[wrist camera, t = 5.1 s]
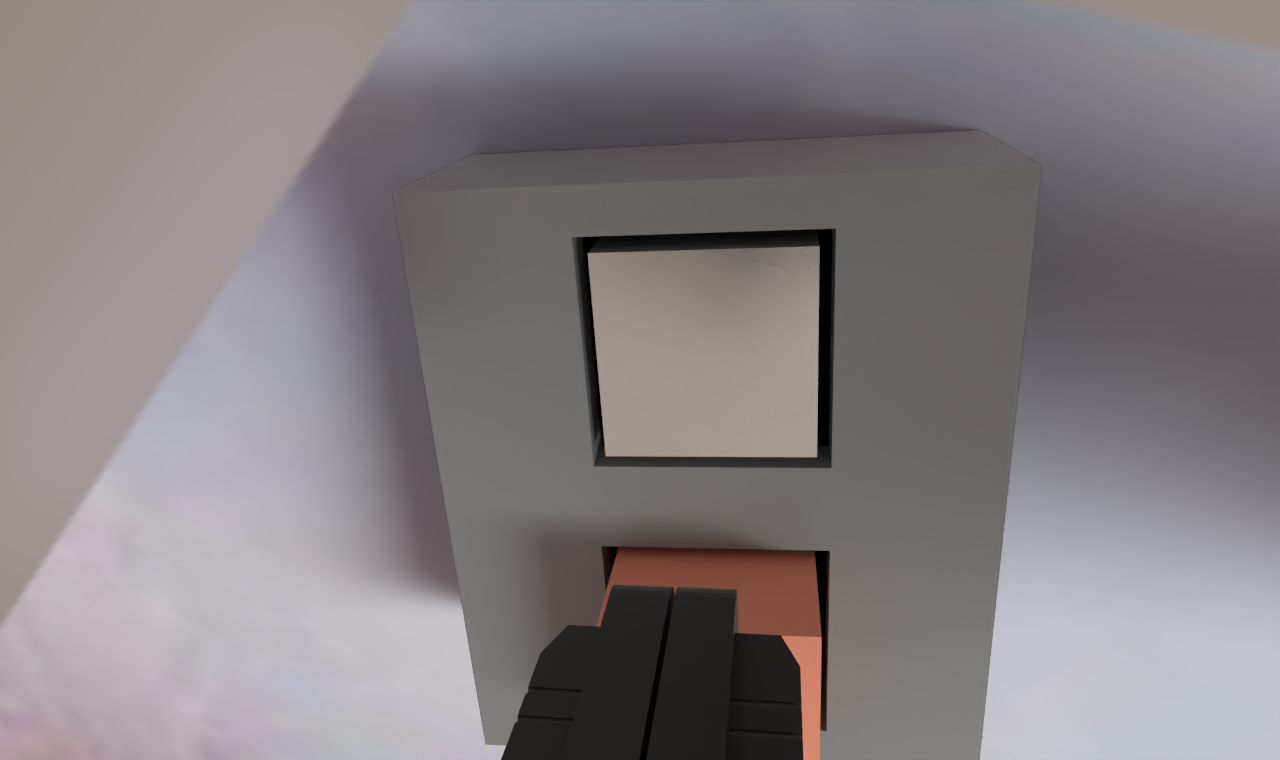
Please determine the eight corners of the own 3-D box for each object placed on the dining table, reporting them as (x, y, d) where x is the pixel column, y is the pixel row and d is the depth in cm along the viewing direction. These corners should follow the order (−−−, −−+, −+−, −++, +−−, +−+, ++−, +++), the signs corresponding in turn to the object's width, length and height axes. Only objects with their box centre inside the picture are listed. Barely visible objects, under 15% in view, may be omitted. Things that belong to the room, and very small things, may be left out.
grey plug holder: (979, 130, 20) (1041, 165, 15) (940, 634, 25) (978, 772, 21) (471, 154, 22) (392, 192, 17) (533, 620, 27) (485, 744, 23)
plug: (810, 199, 21) (819, 246, 16) (808, 374, 22) (816, 457, 18) (623, 206, 21) (587, 253, 17) (635, 376, 23) (605, 456, 19)
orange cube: (811, 514, 21) (822, 637, 17) (810, 663, 23) (819, 808, 18) (628, 511, 22) (595, 629, 18) (640, 656, 23) (612, 794, 19)
